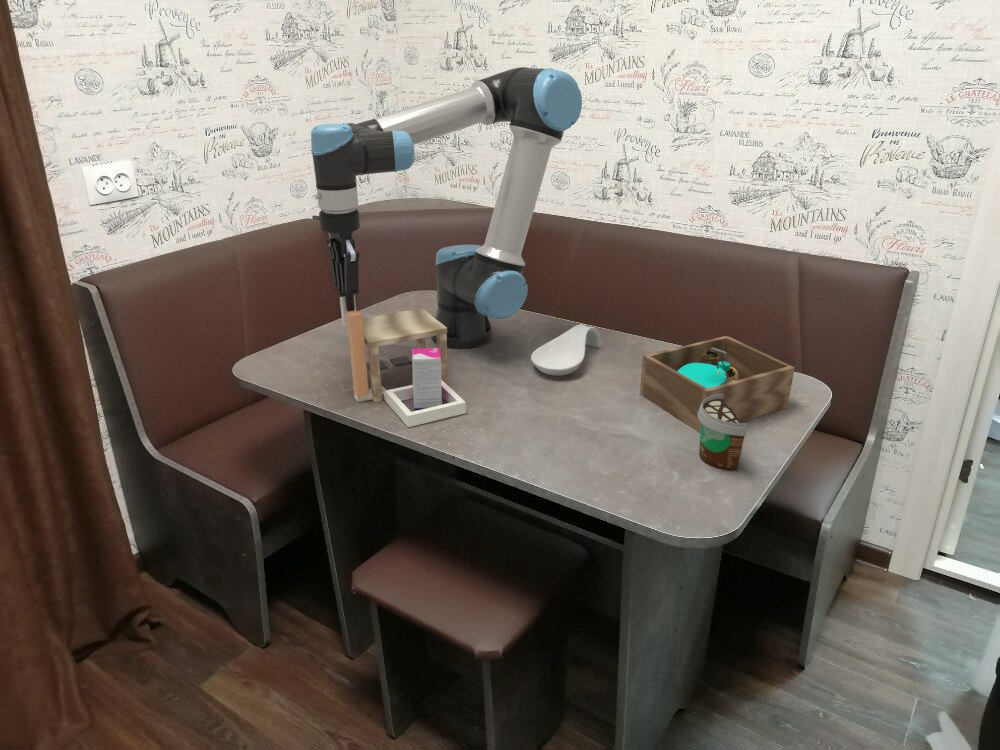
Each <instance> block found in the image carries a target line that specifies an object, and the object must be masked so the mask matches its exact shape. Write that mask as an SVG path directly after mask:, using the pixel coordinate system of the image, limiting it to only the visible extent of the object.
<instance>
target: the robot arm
mask: <svg viewBox="0 0 1000 750" xmlns="http://www.w3.org/2000/svg"><path fill="white" fill-rule="evenodd" d="M582 106H583V97H582V92H581V90H580V88H579V84H578V82H577V81H576V80H575V78H574V77H573V76H572V75H570V74H569V73H568V72H565V71H562V70H558V69H553V68H532V67H526V66H525V67H524V66H523V67H522V66H521V67H520V66H519V67H515V68H511V69H508V70H505V71H502V72H499V73H495V74H493V75H490V76H487V77H484V78H482V79H478V80H475V81H473V82H472V83H471V85H470V87H469V88H466V89H463V90H460V91H456V92H453V93H451V94H447V95H444V96H441V97H438V98H435V99H432V100H428V101H425V102H422V103H418V104H416V105H415V104H414V105H412V106H409V107H406V108H402V109H400V110H396V111H393V112H391V113H387V114H384V115H381V116H377V117H374V118H372V119H368V120H365V121H362V122H358V123H354V122H353V123H352V122H347V123H345V122H344V123H324V124H317V125H315V126H314V127H312V129H311V132H310V140H311V141H310V143H311V146H310V147H311V155H312V160H313V161H312V163H313V168H314V169H313V171H314V176H315V185H316V192H317V193H315V194H314V199H316V200H317V206H318V208H319V209H320V211H319V213H318V215H319V216H318V217H319V225H320V227H319V228H320V231H322V232H323V233H326V234H329V236H330V238H326V240H325V242H326V245H327V249H328V253H329V259H330V265H331V271H332V276H333V282H334V287H335V288H337V291H338V297H339V305H340V312H341V313H340V314H341V323H342V325H343V326H344V327H348V323H347V312H352V311H357V305H356V295H358V294H359V286H360V285H359V260H360V251H359V250H355V248H356V244H355V243H356V242H355V239H354V238H353V235H352V234H353V232H355V231H358V230H359V229H360V227H361V224H360V223H361V220H360V212H359V210H358V207H359V196H358V195H359V194H358V185H357V184H358V183H357V176H363V175H365V176H366V175H374V174H385V173H397V172H401V171H405V170H409V169H411V167H412V166H413V164H414V161H415V145H417V144H421V143H424V142H427V141H430V140H433V139H436V138H439V137H441V136H445V135H448V134H451V133H453V132H457V131H460V130H463V129H466V128H469V127H472V126H474V125H478V124H482V125H484V126H491V125H492V124H496V123H503V122H508V123H509V126H508V127H509V129H510V131H511V134H512V136H513V137H512V138H513V139H512V143H511V146H510V149H509V153H508V157H507V161H506V164H505V168H504V170H503V171H504V172H503V176H502V179H501V183H500V186H499V190H498V193H497V197H496V201H495V204H494V209H493V211H492V215H491V217H490V219H491V220H490V222H489V226H488V229H487V234H486V237H485V241H484V244H483V245H478V244H458V245H450V246H445V247H442V248H440V249H439V250H438V251H437V252H436V255H435V264H434V265H435V273H436V276H435V277H436V292H437V293H436V298H437V299H436V300H437V310H436V312H435V313H436V314H435V315H434V318H435V319H436V320H438V321H439V322H440V323H441V324H443V325H444V326H445V327H447V333H446V338H447V348H451V349H472V348H476V347H480V346H483V345H485V344H488V343H489V342H490V341H491V340H492V339H493V327H492V324H491V321H490V318H491V319H495V320H502V319H503V320H504V319H506V318H510V317H511V316H512V315H513V314H516V313H517V312H518V311H520V309H521V308H522V306H523V305H524V303H525V301H526V300H527V296H528V290H529V289H528V284H527V281H526V278H525V277H524V276H523V272H524V270H525V268H526V267H525V266H526V262H525V261H524V259H523V257H522V253H523V249H524V245H525V242H526V238H527V236H528V235H527V234H528V232H529V228H530V225H531V220H532V218H533V214H534V211H535V208H536V204H537V202H538V197H539V193H540V191H541V186H542V183H543V179H544V176H545V173H546V170H547V165H548V162H549V160H550V156H551V153H552V149H553V148H554V147H556V146H557V145H559V144H561V142H562V140H563V136H564V132H565V131H566V130H569V129H571V128H572V126H573V125H575V124H576V123H577V122H578V120H579V118H580V115H581V113H582V108H583V107H582ZM431 340H432V341H433V342H434V343H435V344H437V338H436V335H435V336H431Z"/></svg>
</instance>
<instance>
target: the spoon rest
mask: <svg viewBox="0 0 1000 750" xmlns="http://www.w3.org/2000/svg"><path fill="white" fill-rule="evenodd" d="M586 346H590V347H592V348H593V347H594V348H597V349H598V348H599V349H600V348H602V347H603V343H602V337H601V335H600V332H599V330H598V328H596V327H593V326H587V325H585V324H582V323H581V324H576V325H575V326H573V327H571V328H570V329H569V330H567V331H565V332H564V333H562V334H560V335H559V336H557V337H555V338H553V339H552V340H550V341H548V342H546V343H544V344H543V345H541V346H538V348H536V349H535V350H533V352H532V353H531V355H530V356H531V357H530V359H531V363H532V364H533V365H534V366H535V368H536V369H538V370H539V371H540V372H541V373H544V374H545V375H549V376H553V377H554V376H556V377H558V376H559V377H561V376H562V377H563V376H566V375H570V374H572V373H573V372H575V371H576V370H577V369H579V367H581V364H582V363H583V361H584V358H585V354H586Z"/></svg>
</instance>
